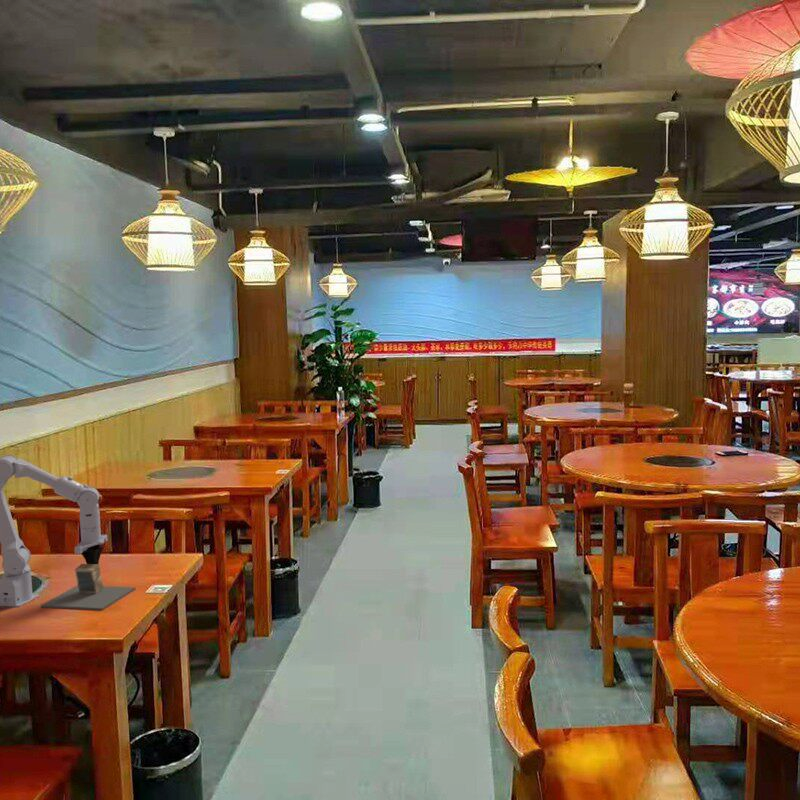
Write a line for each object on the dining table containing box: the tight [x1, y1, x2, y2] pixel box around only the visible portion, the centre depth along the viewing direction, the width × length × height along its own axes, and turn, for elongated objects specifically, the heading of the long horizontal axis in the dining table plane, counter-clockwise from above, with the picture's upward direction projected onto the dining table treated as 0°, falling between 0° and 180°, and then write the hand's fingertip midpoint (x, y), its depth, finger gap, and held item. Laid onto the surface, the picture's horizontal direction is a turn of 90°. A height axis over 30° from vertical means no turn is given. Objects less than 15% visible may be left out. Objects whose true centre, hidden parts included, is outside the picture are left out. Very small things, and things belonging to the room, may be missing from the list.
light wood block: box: [74, 563, 104, 594], centre depth 232 cm, size 4×6×8 cm, turn 78°
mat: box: [40, 584, 136, 611], centre depth 229 cm, size 18×20×1 cm
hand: (93, 569), depth 234 cm, fingers closed
